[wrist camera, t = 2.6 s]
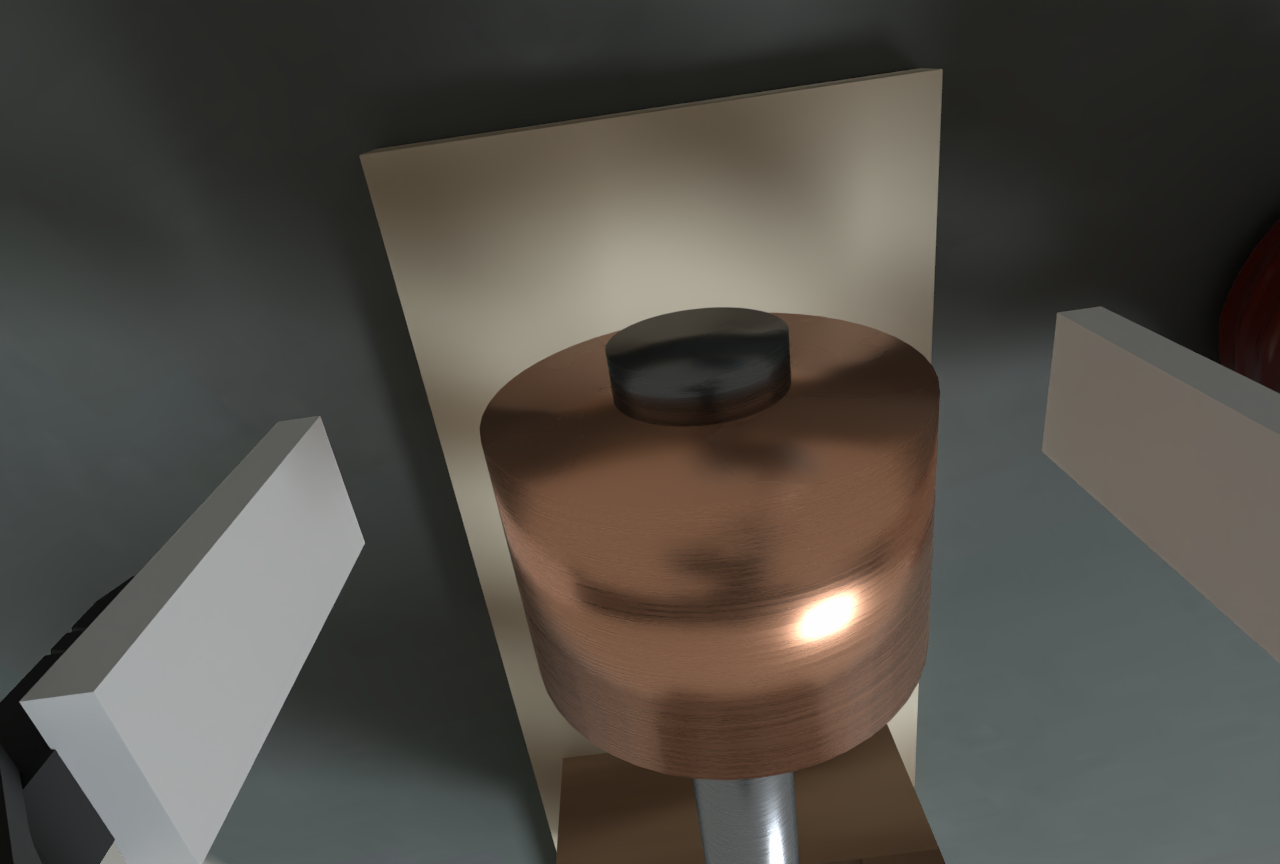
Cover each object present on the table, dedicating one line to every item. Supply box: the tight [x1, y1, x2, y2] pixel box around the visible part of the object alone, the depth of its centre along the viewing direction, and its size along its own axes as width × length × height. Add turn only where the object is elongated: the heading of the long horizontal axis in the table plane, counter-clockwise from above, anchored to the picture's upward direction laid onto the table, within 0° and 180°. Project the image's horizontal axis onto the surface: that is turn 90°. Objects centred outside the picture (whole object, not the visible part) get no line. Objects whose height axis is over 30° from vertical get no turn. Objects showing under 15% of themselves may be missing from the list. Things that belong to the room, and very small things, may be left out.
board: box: [359, 68, 943, 852], centre depth 22 cm, size 26×12×1 cm, turn 8°
